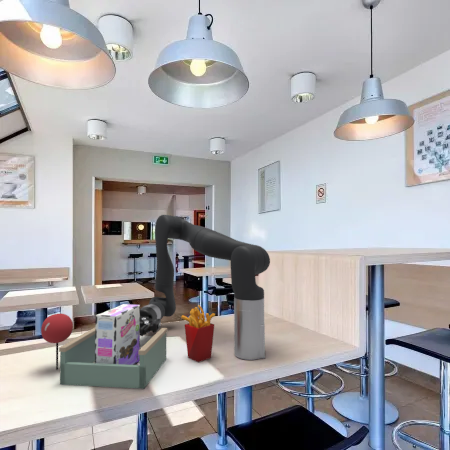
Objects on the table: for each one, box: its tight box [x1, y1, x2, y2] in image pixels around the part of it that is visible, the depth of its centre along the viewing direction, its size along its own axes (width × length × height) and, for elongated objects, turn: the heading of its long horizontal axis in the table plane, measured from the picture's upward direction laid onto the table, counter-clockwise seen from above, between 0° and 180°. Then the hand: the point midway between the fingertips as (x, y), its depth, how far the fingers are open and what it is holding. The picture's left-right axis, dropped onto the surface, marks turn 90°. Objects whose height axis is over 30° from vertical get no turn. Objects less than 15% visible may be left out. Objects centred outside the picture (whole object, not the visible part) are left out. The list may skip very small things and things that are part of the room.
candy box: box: [94, 303, 141, 365], centre depth 85 cm, size 14×6×16 cm, turn 168°
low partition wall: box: [58, 326, 168, 390], centre depth 85 cm, size 22×18×9 cm
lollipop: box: [40, 313, 74, 370], centre depth 86 cm, size 8×8×15 cm
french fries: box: [180, 304, 216, 363], centre depth 94 cm, size 9×8×15 cm
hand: (126, 332), depth 91 cm, fingers open, 8 cm apart
